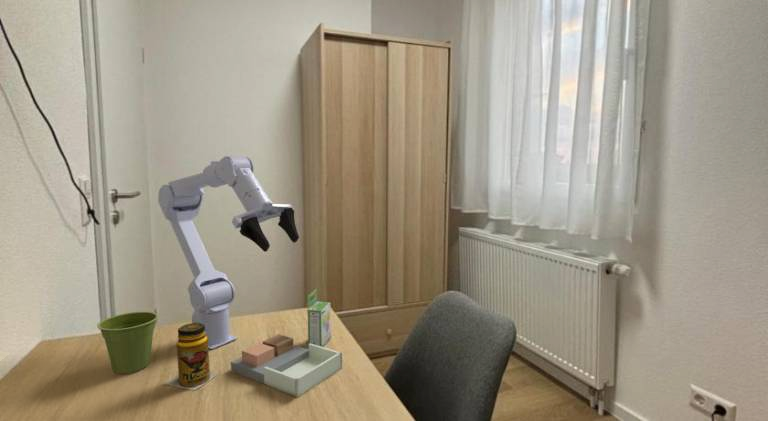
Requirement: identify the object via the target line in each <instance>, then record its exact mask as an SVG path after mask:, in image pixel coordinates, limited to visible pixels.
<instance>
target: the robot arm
mask: <svg viewBox="0 0 768 421" xmlns="http://www.w3.org/2000/svg"><path fill="white" fill-rule="evenodd" d="M225 185H227V186H228V187H231V188H232V189H233V191H234V192H235V195H236V196H237V198H238V199H239V201H240V203H241V205H242V207H243V208H244V210H245V211H246V212H243V213H241V214H238V215H235V216H233V218H232V221H231V223H232V224H233V226H234V228H235V229H239V233H240V235H241V236H243V237H245V238H247V239H249V240H250V241H252V242H253V243H254V244H256V245H257V246H258V247H259V248H260V249H261V250H262V251H263V252H264V253H265V252H268V250H269V249H270V247H271V245H270V243H269V240H268V239H267V237H266V236H265V234H264V232H263V230H262V227H261V225H260V224H261V223H263V222H266V221H269V220H270V219H275V218H277V217H279V218H278V220H279V221H278V223H277V225H278V226H279V227H280V228H281V229H282V230H283V231H284V232H285V233H286V234H287V236H288V238H289V239H290V240H291V242H292V243H293V244H294V243H296V242H298V240H299V238H300V236H299V235H300V234H298V231H297V226H296V221H295V209H294V208H293V205H292V204H291V203H286V204H282V203H281V204H280V203H273V201H272V200H270V198H269V196H268V195H267V193H266V192H265V190H264V188H263V187H262V185H261V184H260V182H259V180H258V179H257V178H256V176H255V174H254V165H253V161H252V160H251V159H250V158H249V157H248V156H230V155H229V156H224V157H223V158H221V159H220V160H212V161H210V164H209V165H207V166H205V167H204V169H203V170H202V172H200V173H197V174H194V175H190V176H185V177H182V178H179V179H176V180H171V181H169V182H167V184H162V185H161V186H160V188H159V191H158V198H157V201H158V205H159V206H160V209H161V212H162V213H163V216H164V218H165V220H167V221H169V223H170V225H171V228H172V229H173V231H174V234H175V237H176V238H177V241H178V244H179V245H180V248H181V250H182V253H183V254H184V257H185V260H186V262H187V265H188V267H189V269H190V270H191V273H192V276H193V279H192V280H191V281H190V283H189V285H188V288H187V291H188V294H189V301H190V304H191V306H192V308H193V309H194V311H193V313H192V315H191V323H202V324H204V325H205V332H206V334H205V335H206V336H207V338H208V350H214V349H217V348H219V347H221V346H223V345H226V344H229V343H231V342H233V341H236V340H238V336H235V335H232V334H231V331H230V313H229V312H230V311H229V307H232V302H234V300H235V297H236V289H235V285H234V284H233V283H232V282H231V281H230V280H229V278H228V277H227V275H226V273H224V272H222V271H219V270H217V269H215V268H214V266H213V263H212V262H211V259H210V257H209V255H208V252H207V250H206V248H205V246H204V243H203V241H202V239H201V237H200V234H199V233H198V230H197V228H196V226H195V224H194V222H193V220H194V219H195V218H196V217H197V216H198V215H199V212H200V209H201V206H202V203H203V201H204V200H203V199H204V195H205V192H204V191H205V190H204V188H205V187H211V188H214V189H215V188H219V187H223V186H225Z"/></svg>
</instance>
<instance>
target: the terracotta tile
mask: <svg viewBox="0 0 768 421" xmlns="http://www.w3.org/2000/svg"><path fill="white" fill-rule="evenodd" d="M241 357H242V362H245V363H248V364H250V365H253V366H256V367H258V366H260V365H262V364H264V363H266V362H268V361H270V360H272V359H274V358H275V356H274V347H271V346H267V345H264V344H263V343H261V342H258V343H256V344H253V345H251V346H250V347H247V348H245V349H243V350H241Z"/></svg>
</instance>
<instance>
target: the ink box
mask: <svg viewBox="0 0 768 421" xmlns="http://www.w3.org/2000/svg"><path fill="white" fill-rule="evenodd" d="M317 291H318V290H317V288H315V289H314V290H313V291H312V292H310V294H308V295H307V298H306V299H307V312H306V313H307V346H308V348H309V344H310V343H311V344H314V345H317V346H321V347H324V346H325V345H327V342H329V340H330V339H331V338H332V323H331V322H332V320H331V319H332V318H331V315H332V314H331V302H328V301H318V295H317V293H318V292H317ZM313 296H314V298H313V299H312V297H313Z"/></svg>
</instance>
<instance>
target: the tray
mask: <svg viewBox="0 0 768 421" xmlns="http://www.w3.org/2000/svg"><path fill="white" fill-rule="evenodd" d="M308 349H309V357H308V358H306V359H304V360H302V361H300V362H299V363H297V364H295V365H293V366H291V367H290V368H288V369H286V370H284V371H283V372H280V371H277V370H274V369H272V368H269V367H264V383H263V384H264V385H266V386H268V387H272V388H274V389H276V390H279V391H281V392H283V393H286V394H288V395H292V396H294V397H296V398H298V397H300V396H301V395H303V394H304V393H306V392H308V391H309V390H311V389H312V388H314V387H315V386H317V385H318V384H320V383H321V382H323V381H325V380H326V379H328V378H329V377H330V376H332V375H333V374H335V373H337V372H339V371H340V370H341V369H343V353H342V352H341V351H338V350H334V349H331V348H328V347H327V348H326V347H324V346H323V347H321V346H317V345H314V344H311V343H310V344H309V347H308Z"/></svg>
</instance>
